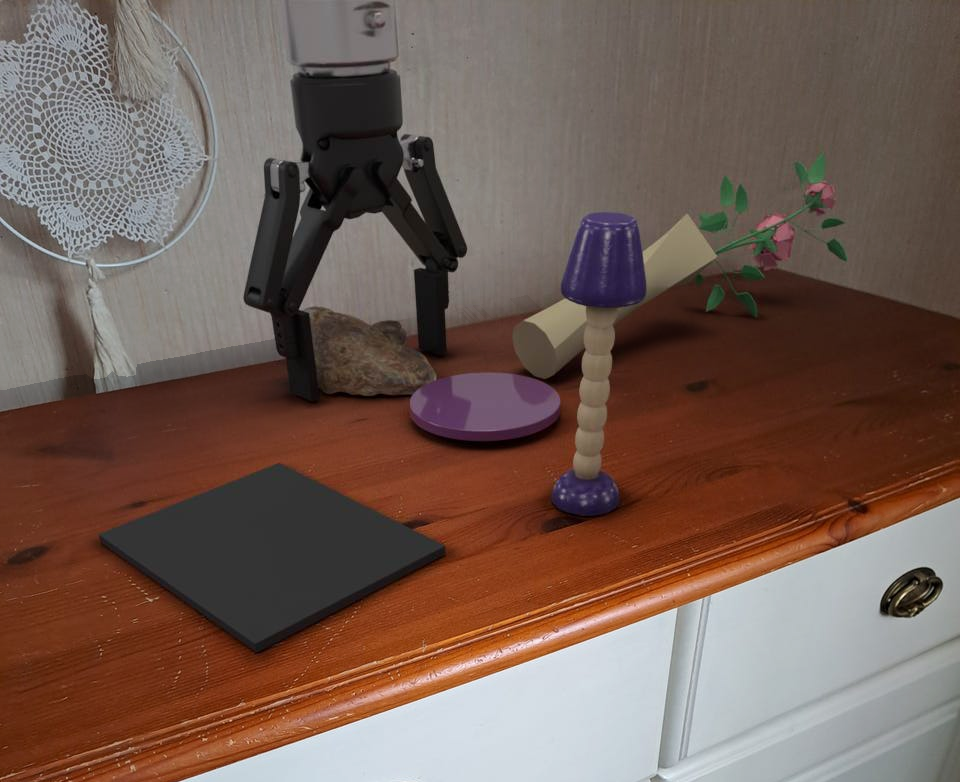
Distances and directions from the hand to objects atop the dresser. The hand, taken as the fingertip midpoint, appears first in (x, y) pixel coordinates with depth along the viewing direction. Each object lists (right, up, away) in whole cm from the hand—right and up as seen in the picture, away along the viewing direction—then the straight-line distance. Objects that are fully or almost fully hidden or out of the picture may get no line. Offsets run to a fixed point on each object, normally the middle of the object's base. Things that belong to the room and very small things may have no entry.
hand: (371, 372), depth 79 cm
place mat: (-3, -16, -22) cm, 28 cm away
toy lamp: (+16, -13, -18) cm, 27 cm away
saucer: (+9, -5, -7) cm, 13 cm away
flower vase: (+26, +6, +8) cm, 28 cm away
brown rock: (0, 0, 0) cm, 0 cm away
